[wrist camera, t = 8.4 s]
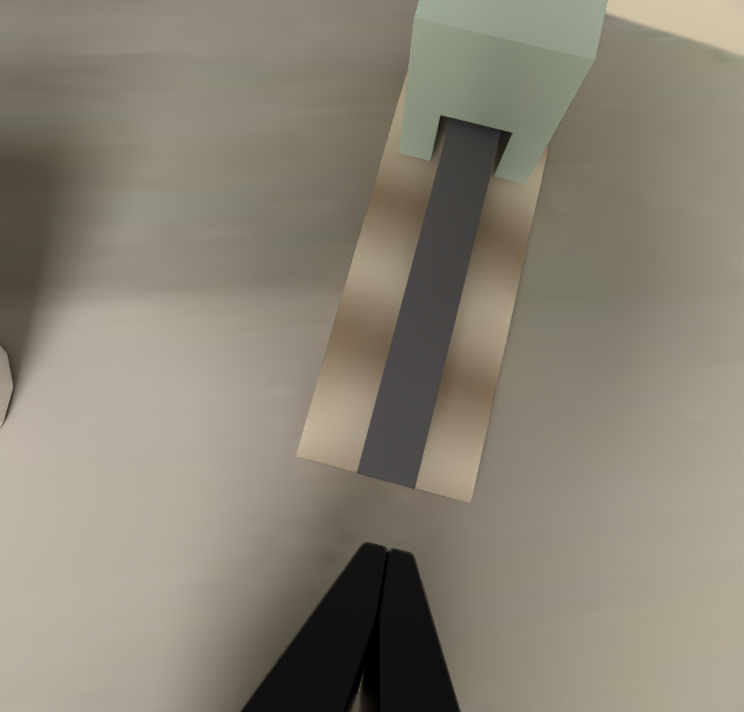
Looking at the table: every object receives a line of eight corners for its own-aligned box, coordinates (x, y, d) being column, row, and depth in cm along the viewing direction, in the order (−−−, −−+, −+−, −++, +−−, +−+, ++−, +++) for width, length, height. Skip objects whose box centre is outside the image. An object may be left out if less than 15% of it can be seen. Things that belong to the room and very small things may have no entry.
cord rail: (407, 486, 21) (414, 488, 18) (357, 472, 21) (356, 473, 18) (510, 63, 25) (530, 9, 22) (468, 53, 25) (482, -2, 22)
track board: (464, 501, 22) (470, 503, 21) (300, 456, 22) (295, 456, 21) (558, 72, 26) (570, 49, 25) (420, 39, 27) (423, 14, 25)
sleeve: (525, 184, 23) (595, 60, 16) (398, 153, 23) (413, 17, 16) (543, 105, 24) (617, -47, 17) (420, 75, 24) (444, -86, 17)
